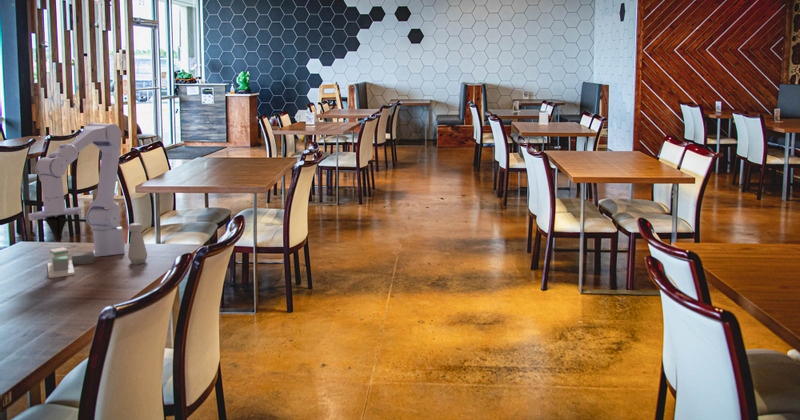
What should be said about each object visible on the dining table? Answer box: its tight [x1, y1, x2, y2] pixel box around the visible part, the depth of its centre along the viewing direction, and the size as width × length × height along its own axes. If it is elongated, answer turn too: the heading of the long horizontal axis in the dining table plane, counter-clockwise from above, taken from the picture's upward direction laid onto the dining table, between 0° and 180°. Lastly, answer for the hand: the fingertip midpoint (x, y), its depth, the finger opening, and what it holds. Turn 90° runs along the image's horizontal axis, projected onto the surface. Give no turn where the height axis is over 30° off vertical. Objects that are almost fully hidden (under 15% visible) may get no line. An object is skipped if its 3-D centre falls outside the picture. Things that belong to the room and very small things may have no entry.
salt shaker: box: [127, 222, 148, 265], centre depth 217 cm, size 6×6×13 cm
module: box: [49, 246, 70, 266], centre depth 209 cm, size 4×4×5 cm
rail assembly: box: [47, 256, 75, 279], centre depth 210 cm, size 7×15×5 cm, turn 28°
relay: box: [71, 251, 95, 266], centre depth 219 cm, size 6×4×3 cm, turn 110°
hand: (57, 239), depth 208 cm, fingers closed
